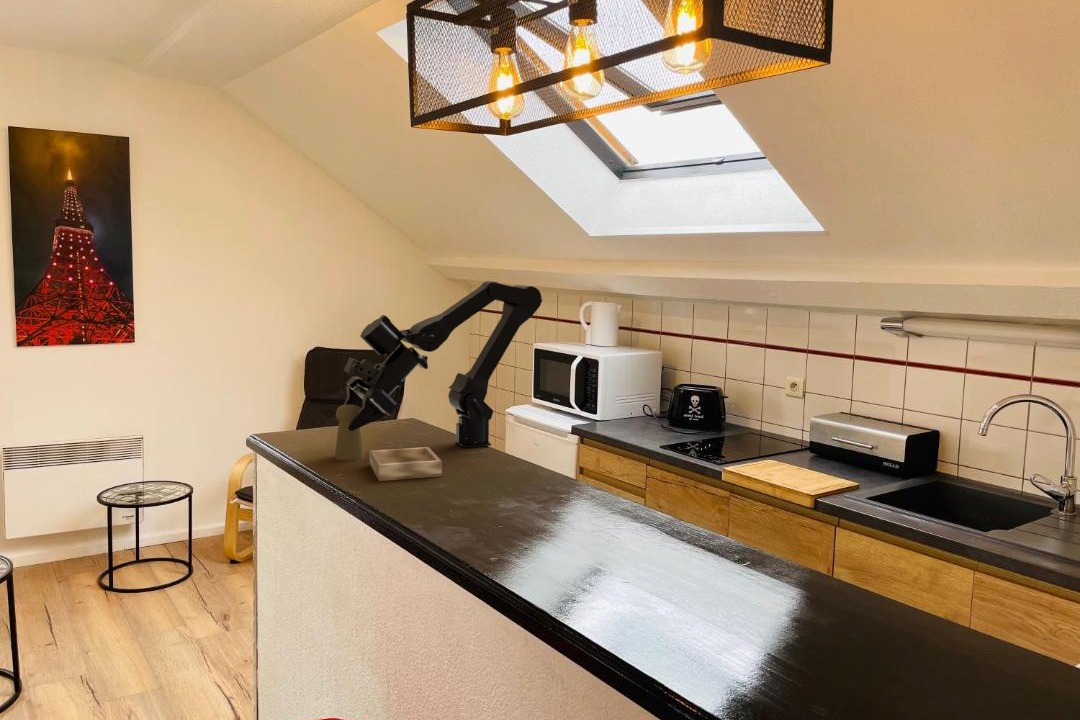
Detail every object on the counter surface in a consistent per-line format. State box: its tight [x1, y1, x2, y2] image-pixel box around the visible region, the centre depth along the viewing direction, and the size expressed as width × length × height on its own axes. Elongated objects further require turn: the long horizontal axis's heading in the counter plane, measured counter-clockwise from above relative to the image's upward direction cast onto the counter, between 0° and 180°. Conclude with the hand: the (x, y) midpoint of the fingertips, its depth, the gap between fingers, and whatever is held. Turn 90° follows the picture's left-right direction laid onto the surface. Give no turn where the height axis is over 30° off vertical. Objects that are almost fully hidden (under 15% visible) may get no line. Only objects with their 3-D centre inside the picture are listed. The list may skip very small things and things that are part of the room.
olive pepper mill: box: [334, 404, 365, 462], centre depth 175 cm, size 6×6×11 cm
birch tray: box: [369, 446, 443, 482], centre depth 166 cm, size 12×12×3 cm
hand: (343, 425), depth 174 cm, fingers open, 9 cm apart
